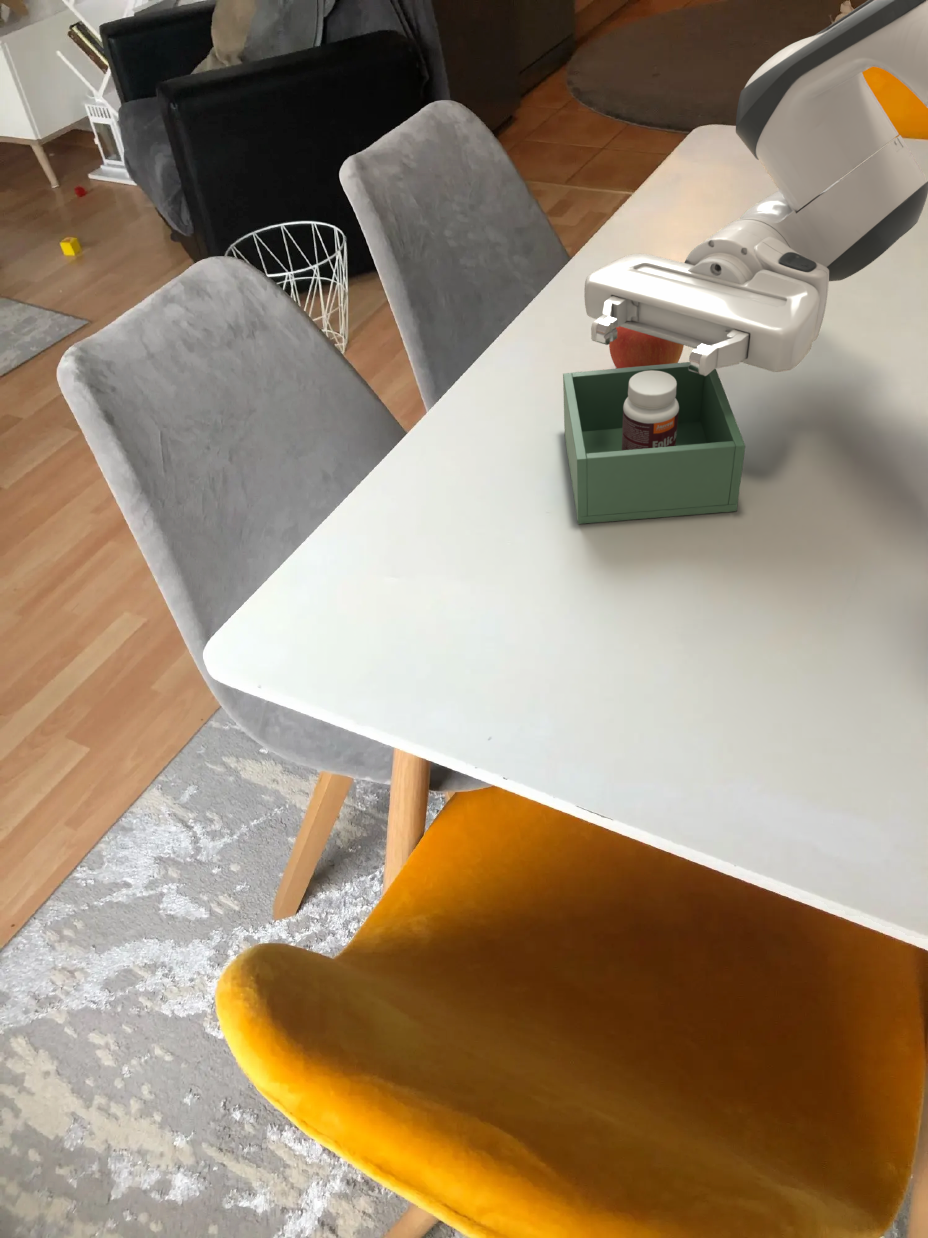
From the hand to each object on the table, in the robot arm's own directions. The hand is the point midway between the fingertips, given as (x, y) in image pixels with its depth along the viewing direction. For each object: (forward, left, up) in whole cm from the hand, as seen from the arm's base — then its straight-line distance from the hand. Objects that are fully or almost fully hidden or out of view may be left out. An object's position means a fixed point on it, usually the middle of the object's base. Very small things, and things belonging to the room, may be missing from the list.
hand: (645, 349), depth 78 cm
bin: (-1, -1, -13) cm, 13 cm away
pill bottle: (-1, -1, -12) cm, 12 cm away
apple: (-3, -16, -13) cm, 21 cm away
